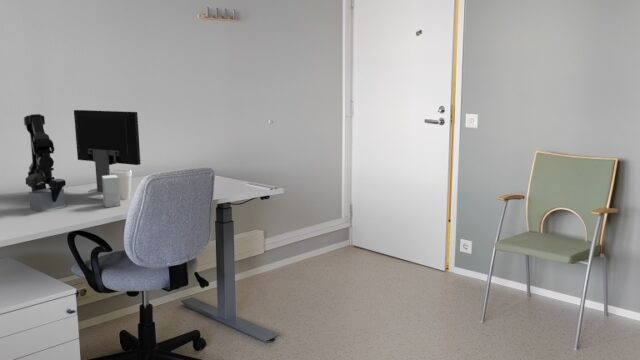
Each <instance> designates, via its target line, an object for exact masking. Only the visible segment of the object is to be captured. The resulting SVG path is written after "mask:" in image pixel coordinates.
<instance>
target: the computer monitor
mask: <svg viewBox="0 0 640 360" xmlns="http://www.w3.org/2000/svg"><path fill="white" fill-rule="evenodd" d="M73 116H74V117H73V119H74V130H75V141H76V154H77V160H78V161H84V162H85V161H89V162H94V164H95V165H94V166H95V178H96V179H95V180H96V188H93V189H89V190H88V193H95V192H97V194H103V187H102V176H107V175H111V171H110V169H111V168H110V166H112V165H117V164H119V165H120V164H121V165H123V164H124V165H133V166H138V165H141V163H142V162H141V151H140V150H141V149H140V135H139V133H140V132H139V116H138V112H137V111H120V110H115V111H114V110H91V109H90V110H89V109H85V110H84V109H75V110H73Z"/></svg>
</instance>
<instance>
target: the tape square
mask: <svg viewBox="0 0 640 360" xmlns="http://www.w3.org/2000/svg"><path fill="white" fill-rule="evenodd" d="M65 207H66V205H65V206H60V207H56V208H52V209H48V210H44V211H43V212H48V211H53V210H56V209H60V208H65Z"/></svg>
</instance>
